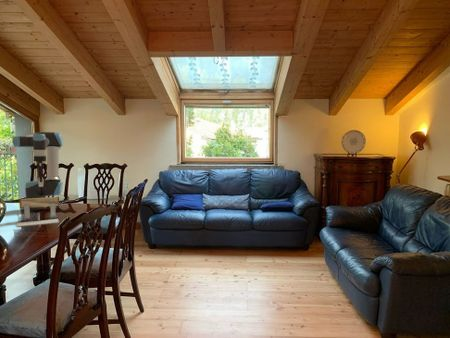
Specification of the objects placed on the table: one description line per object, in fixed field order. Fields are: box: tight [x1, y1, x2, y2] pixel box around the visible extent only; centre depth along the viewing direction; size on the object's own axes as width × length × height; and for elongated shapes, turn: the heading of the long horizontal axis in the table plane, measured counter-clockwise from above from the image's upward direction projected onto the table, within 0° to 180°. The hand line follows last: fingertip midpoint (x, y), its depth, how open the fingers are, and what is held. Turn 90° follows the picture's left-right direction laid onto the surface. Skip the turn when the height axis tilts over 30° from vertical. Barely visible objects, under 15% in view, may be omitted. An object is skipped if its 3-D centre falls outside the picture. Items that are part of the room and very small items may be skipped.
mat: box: [16, 218, 59, 228], centre depth 210 cm, size 10×24×1 cm, turn 120°
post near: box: [22, 205, 33, 222], centre depth 218 cm, size 6×5×11 cm
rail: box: [18, 196, 60, 210], centre depth 221 cm, size 4×24×6 cm, turn 120°
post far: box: [48, 203, 58, 220], centre depth 226 cm, size 6×5×11 cm
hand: (40, 185), depth 220 cm, fingers open, 13 cm apart
